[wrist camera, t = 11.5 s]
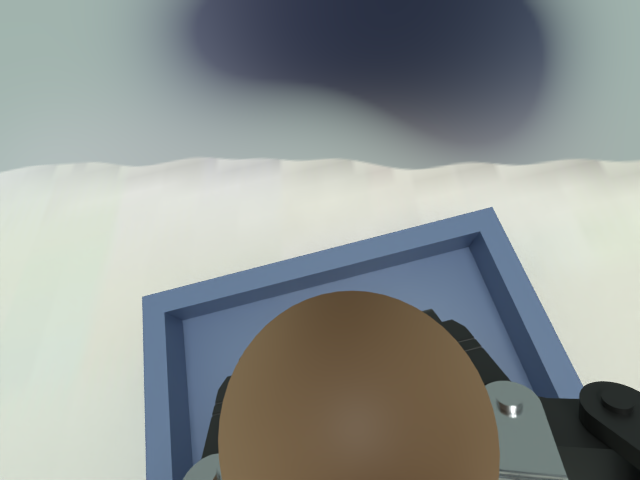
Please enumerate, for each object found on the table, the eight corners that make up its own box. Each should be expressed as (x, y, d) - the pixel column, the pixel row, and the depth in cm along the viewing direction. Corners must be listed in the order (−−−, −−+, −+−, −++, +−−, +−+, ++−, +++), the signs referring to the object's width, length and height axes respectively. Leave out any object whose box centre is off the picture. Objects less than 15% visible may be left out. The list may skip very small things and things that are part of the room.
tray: (187, 655, 16) (151, 709, 13) (168, 308, 22) (142, 296, 20) (622, 542, 16) (677, 572, 13) (476, 230, 22) (492, 206, 20)
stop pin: (322, 473, 17) (236, 647, 5) (301, 370, 19) (205, 324, 7) (419, 448, 17) (556, 564, 5) (389, 347, 19) (436, 264, 7)
